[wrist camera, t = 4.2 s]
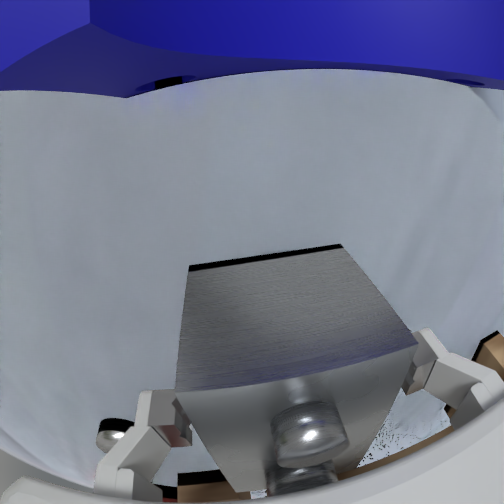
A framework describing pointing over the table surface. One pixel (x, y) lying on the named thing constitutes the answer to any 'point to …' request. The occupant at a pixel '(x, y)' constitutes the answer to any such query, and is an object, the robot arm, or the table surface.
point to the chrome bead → (111, 432)
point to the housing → (288, 365)
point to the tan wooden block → (207, 488)
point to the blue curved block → (242, 41)
